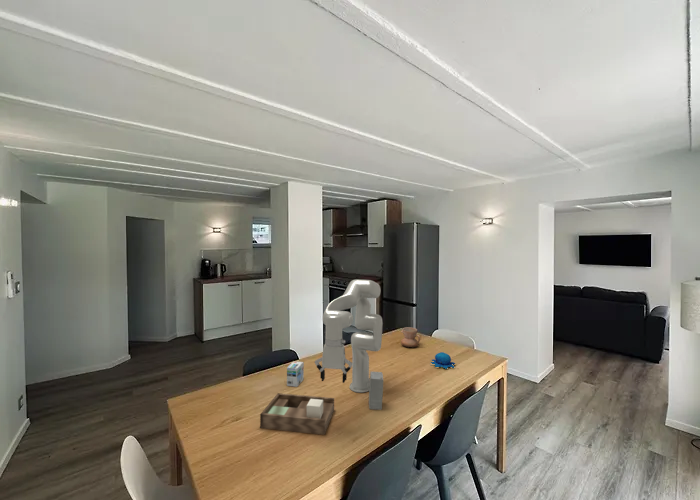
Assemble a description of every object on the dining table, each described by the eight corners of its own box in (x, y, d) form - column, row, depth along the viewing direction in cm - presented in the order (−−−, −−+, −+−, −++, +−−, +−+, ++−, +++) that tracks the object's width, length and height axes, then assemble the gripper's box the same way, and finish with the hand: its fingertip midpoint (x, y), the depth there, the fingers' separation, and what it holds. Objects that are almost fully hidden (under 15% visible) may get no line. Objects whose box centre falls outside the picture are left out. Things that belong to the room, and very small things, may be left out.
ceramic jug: (396, 345, 243) (396, 328, 243) (405, 341, 253) (406, 325, 253) (414, 351, 230) (414, 333, 230) (424, 347, 240) (424, 329, 240)
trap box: (334, 410, 143) (334, 398, 144) (324, 434, 124) (324, 420, 124) (277, 405, 148) (277, 393, 148) (260, 427, 129) (260, 414, 129)
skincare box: (368, 401, 152) (368, 370, 153) (382, 401, 152) (382, 371, 152) (369, 410, 144) (369, 377, 144) (383, 410, 144) (383, 378, 144)
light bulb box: (297, 387, 168) (297, 368, 168) (286, 386, 169) (286, 367, 169) (303, 379, 178) (304, 361, 178) (293, 378, 179) (293, 360, 179)
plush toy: (456, 362, 207) (456, 351, 207) (454, 371, 191) (454, 359, 191) (432, 359, 213) (432, 347, 213) (428, 367, 198) (428, 355, 198)
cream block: (323, 412, 134) (323, 399, 134) (319, 420, 128) (319, 406, 128) (310, 411, 135) (310, 398, 135) (306, 419, 129) (306, 405, 129)
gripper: (354, 340, 133) (353, 378, 133) (317, 338, 135) (316, 375, 135) (351, 346, 125) (351, 386, 125) (312, 343, 128) (312, 383, 128)
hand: (333, 380), depth 130 cm, fingers open, 9 cm apart
